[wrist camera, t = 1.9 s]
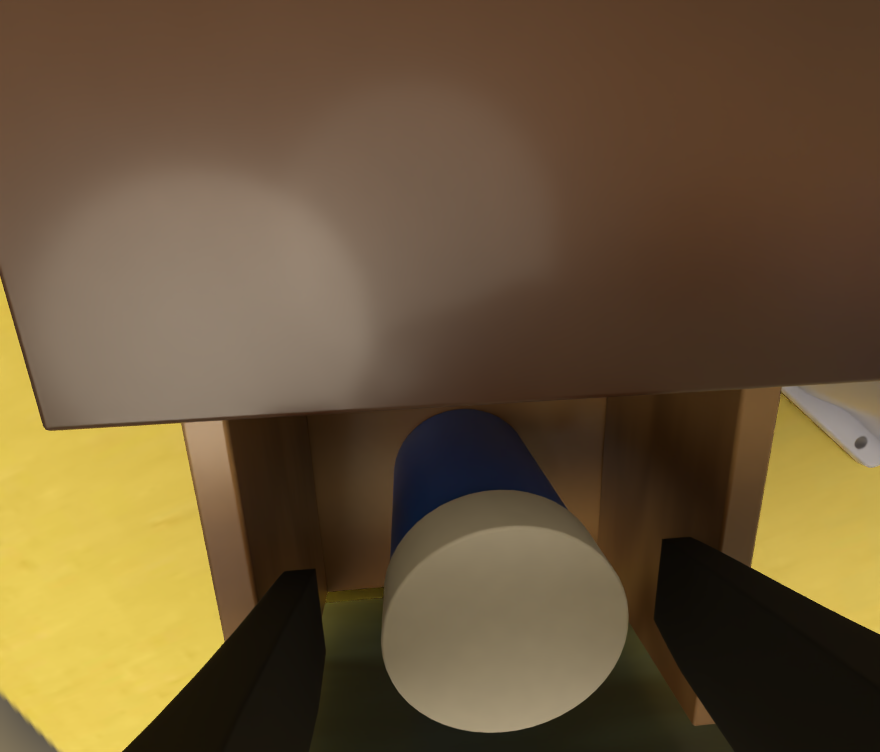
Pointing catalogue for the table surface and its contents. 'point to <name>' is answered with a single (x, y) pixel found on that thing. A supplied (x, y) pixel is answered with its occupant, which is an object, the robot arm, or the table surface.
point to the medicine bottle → (492, 583)
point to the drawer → (579, 487)
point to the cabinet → (434, 202)
